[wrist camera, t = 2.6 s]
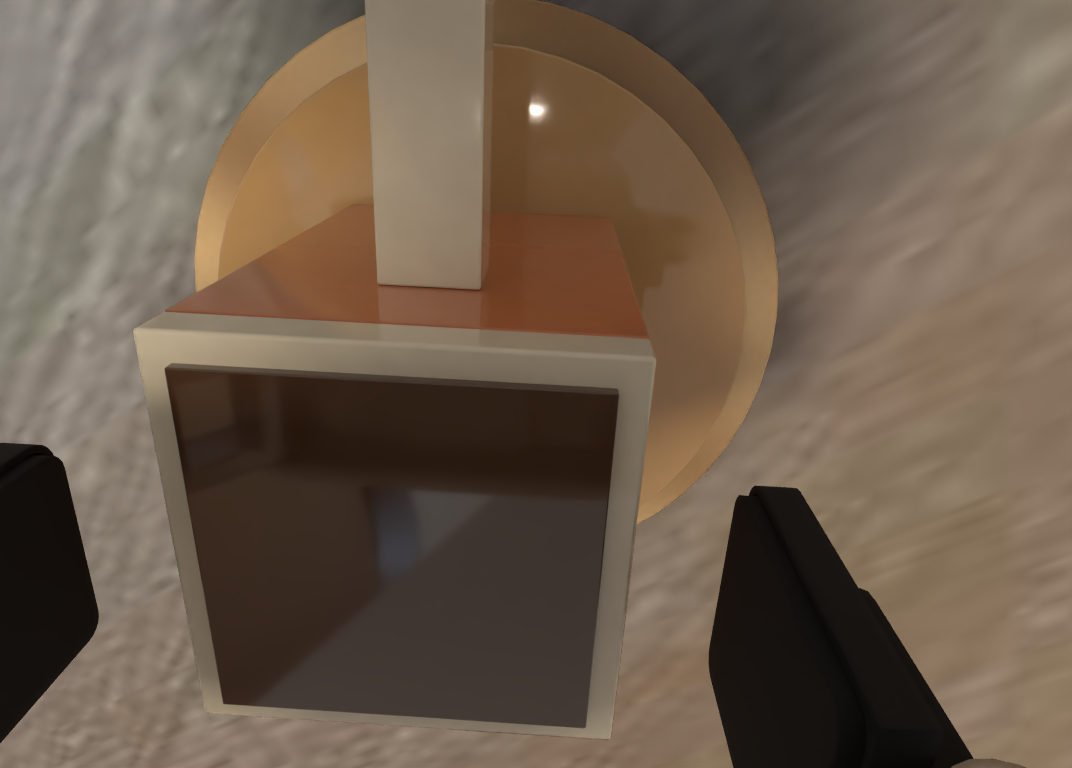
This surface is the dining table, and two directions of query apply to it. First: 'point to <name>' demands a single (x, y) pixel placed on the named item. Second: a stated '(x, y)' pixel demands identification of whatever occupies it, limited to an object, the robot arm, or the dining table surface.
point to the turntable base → (599, 50)
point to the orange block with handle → (440, 387)
